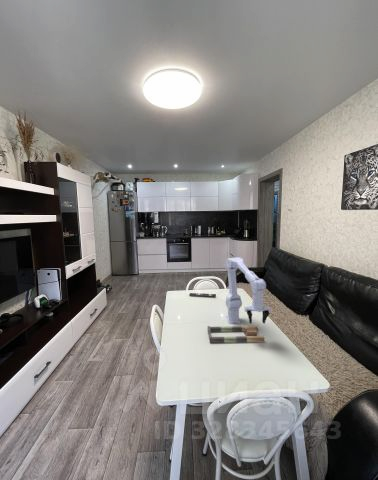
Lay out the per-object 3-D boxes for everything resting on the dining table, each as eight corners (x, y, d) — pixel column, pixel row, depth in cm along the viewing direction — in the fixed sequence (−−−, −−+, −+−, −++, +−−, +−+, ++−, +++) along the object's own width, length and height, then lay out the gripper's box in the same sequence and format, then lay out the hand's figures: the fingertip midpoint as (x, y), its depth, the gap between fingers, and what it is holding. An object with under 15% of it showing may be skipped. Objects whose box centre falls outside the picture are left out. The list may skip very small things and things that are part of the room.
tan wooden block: (244, 333, 131) (244, 326, 130) (253, 333, 131) (254, 326, 131) (246, 339, 125) (247, 331, 124) (257, 338, 125) (257, 331, 125)
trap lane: (207, 330, 134) (207, 326, 134) (256, 329, 135) (256, 325, 134) (209, 343, 121) (209, 338, 121) (264, 342, 122) (264, 337, 121)
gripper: (247, 303, 118) (246, 326, 119) (273, 303, 118) (272, 326, 119) (243, 298, 125) (243, 320, 126) (268, 298, 125) (267, 320, 126)
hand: (257, 322), depth 123 cm, fingers open, 7 cm apart
